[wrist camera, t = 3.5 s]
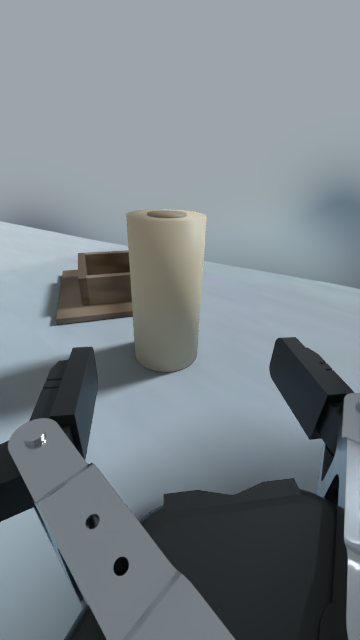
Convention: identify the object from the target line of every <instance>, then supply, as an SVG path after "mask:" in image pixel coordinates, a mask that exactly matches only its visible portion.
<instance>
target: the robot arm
mask: <svg viewBox="0 0 360 640" xmlns="http://www.w3.org/2000/svg"><path fill="white" fill-rule="evenodd" d="M269 370H270V375H271V378H272V380H273V382H274V383H275V385H276V386H277V388H278V390H279V391H280V393H281V394H282V396H283V398H284V399H285V401H286V402H287V404H288V406H289V407H290V409H291V410H292V412H293V414H294V415H295V417H296V418H297V420H298V422H299V423H300V425H301V426H302V428H303V430H304V431H305V433H306V434H307V436H308V438H309V439H310V440H311V439H321V438H322V439H323V441H324V445H323V447H322V453H321V461H320V469H319V476H318V484H317V490H316V494H314V493H311V492H308V491H304V490H300V489H299V488H298V486H297V484H296V482H295V480H294V478H292V479H283V480H275V481H267V482H262V483H260V484H258V485H256V486H253V487H251V488H249V489H247V490H245V491H242V492H240V493H238V494H235V495H227V494H220V493H214V492H207V491H200V490H194V491H186V492H178V493H169V494H164V505H163V506H161V507H159V508H157V509H155V510H153V511H152V512H150V513H149V514H147V515H146V516H145V517H144V518H142V519H141V520H140V521H138V520H137V519H136V517H135V516H134V515H133V513H132V512H131V511H130V509H129V508H128V507H127V505H126V504H125V503H124V502H123V500H122V499H121V498H120V496H119V495H118V494H117V492H116V491H115V490H114V488H113V487H112V486H111V484H110V483H109V482H108V481H107V479H106V478H105V477H104V475H103V474H102V473H101V471H100V470H99V469H98V468H97V467H96V465H94V464H93V463H91V464H87V463H86V461H85V459H86V453H87V447H88V441H89V435H90V430H91V424H92V418H93V412H94V406H95V400H96V395H97V387H98V378H97V370H96V364H95V357H94V350H93V347H77V348H73V349H72V352H71V355H70V358H69V360H64V361H59V362H58V363H57V364H56V365H55V366H54V367H53V368H52V369H51V370H50V372H49V375H48V377H47V381H46V382H45V384H44V387H43V390H42V392H41V394H40V396H39V399H38V401H37V404H36V406H35V409H34V411H33V413H32V416H31V418H30V421H29V422H27V423H25V424H24V425H22V426H21V427H19V428H18V429H17V430H16V431H15V432H14V433H13V434H12V436H11V438H10V440H9V441H7V442H5V443H2V444H0V522H1V521H3V520H5V519H8V518H10V517H12V516H14V515H17V514H19V513H21V512H23V511H26V510H28V509H30V508H32V507H33V508H34V510H35V512H36V514H37V516H38V518H39V520H40V522H41V524H42V526H43V528H44V530H45V532H46V534H47V536H48V538H49V540H50V542H51V544H52V546H53V548H54V550H55V552H56V554H57V556H58V559H59V561H60V563H61V565H62V567H63V569H64V572H65V574H66V576H67V578H68V580H69V582H70V584H71V586H72V588H73V590H74V592H75V594H76V596H77V598H78V600H79V602H80V604H81V606H82V608H83V609H82V611H81V613H80V614H79V616H78V618H77V619H76V621H75V623H74V624H73V626H72V628H71V629H70V631H69V633H68V634H67V636H66V638H65V639H64V640H360V393H354V392H353V391H352V389H351V388H350V387H349V386H348V385H347V384H346V383H345V382H344V381H343V380H342V379H341V378H340V377H339V376H338V375H337V374H336V373H335V371H334V370H332V368H331V367H330V366H329V365H328V364H326V362H325V361H324V360H323V359H322V358H321V357H320V356H319V355H318V354H317V353H315V352H314V351H312V350H311V349H309V348H305V347H304V346H303V344H302V343H301V342H300V341H299V340H298V339H297V338H296V337H288V338H278V339H277V340H276V342H275V346H274V350H273V354H272V358H271V362H270V367H269Z"/></svg>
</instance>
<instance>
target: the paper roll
mask: <svg viewBox="0 0 360 640" xmlns="http://www.w3.org/2000/svg"><path fill="white" fill-rule="evenodd" d="M206 218H207V216H206V215H204V214H201V213H198V212H192V211H186V210H173V209H171V210H170V209H151V210H139V211H133V212H129V213H127V232H128V248H129V263H130V279H131V295H132V310H133V326H134V342H135V356H136V359H137V361H138V362H139V363H140V364H141V365H142V366H144V367H146V368H148V369H150V370H153V371H159V372H173V371H178V370H182V369H184V368H186V367H188V366H190V365H191V364H192V363H193V362H194V361H195V359H196V357H197V346H198V332H199V318H200V304H201V290H202V275H203V261H204V246H205V232H206Z"/></svg>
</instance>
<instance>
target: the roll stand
mask: <svg viewBox="0 0 360 640" xmlns="http://www.w3.org/2000/svg"><path fill="white" fill-rule="evenodd" d="M128 316H133V310H132V295H131V279H130V263H129V251H112V252H92V253H78V270H69V271H63V274H62V281H61V288H60V295H59V303H58V310H57V317H56V321H57V325H60V324H68V323H77V322H85V321H94V320H102V319H111V318H119V317H128Z"/></svg>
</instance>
